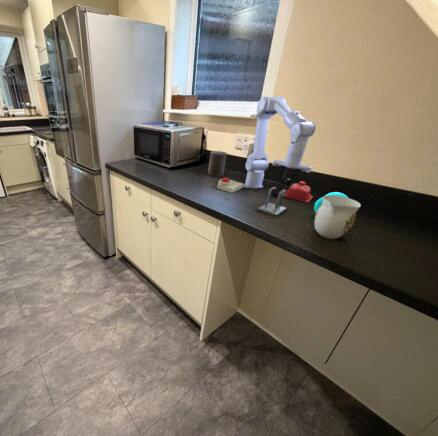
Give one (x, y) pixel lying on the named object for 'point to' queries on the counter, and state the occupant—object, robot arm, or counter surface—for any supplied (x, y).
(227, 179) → the button
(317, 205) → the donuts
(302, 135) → the robot arm
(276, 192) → the lever
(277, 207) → the bracket
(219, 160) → the pillar candle
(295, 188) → the butter dish
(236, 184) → the button box
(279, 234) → the counter surface
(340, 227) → the pitcher
